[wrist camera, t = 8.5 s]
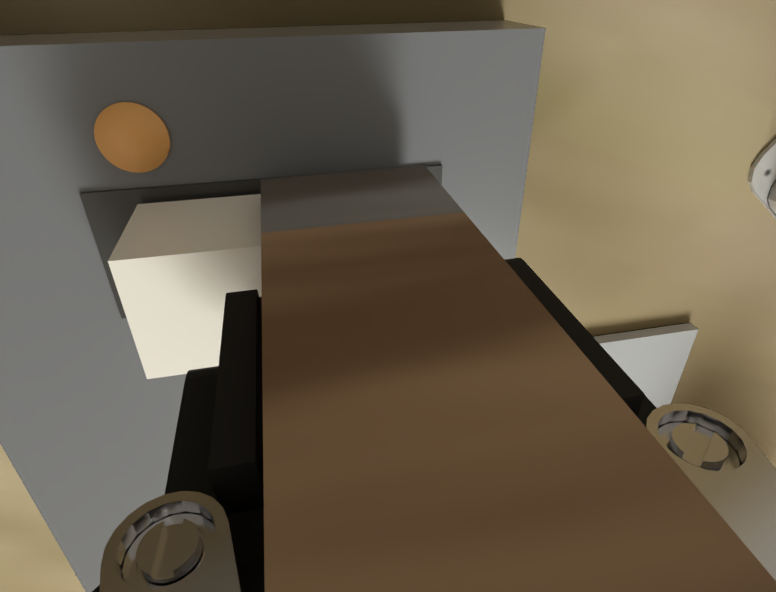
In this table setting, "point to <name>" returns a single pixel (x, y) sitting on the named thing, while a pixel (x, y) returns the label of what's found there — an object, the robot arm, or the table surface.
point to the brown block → (450, 417)
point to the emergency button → (765, 178)
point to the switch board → (200, 181)
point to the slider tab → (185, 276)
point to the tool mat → (652, 357)
